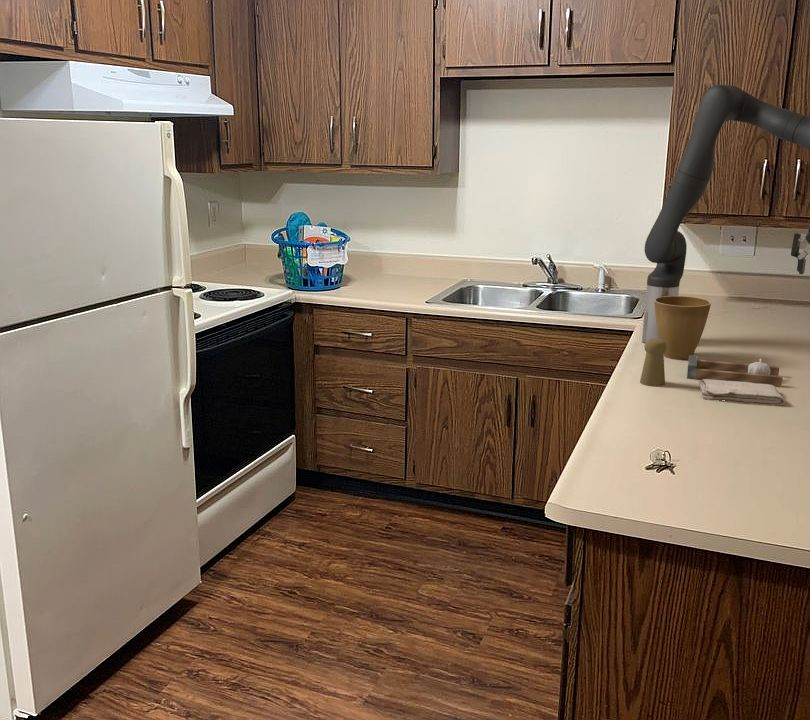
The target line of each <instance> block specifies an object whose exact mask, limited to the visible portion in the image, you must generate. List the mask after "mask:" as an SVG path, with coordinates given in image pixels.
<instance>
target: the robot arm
mask: <svg viewBox="0 0 810 720" xmlns="http://www.w3.org/2000/svg"><path fill="white" fill-rule="evenodd" d="M728 121H732V122H739V123H746V124H749V125H753V126H755V127H757V128H760V129H761V130H763V131H765V132H766V133H768V134H770V135H772V136H773V137H776V138H778V139H780V140H783V141H786V142H788V143H791V144H793V145H797V146H801V147H803V148H804V149H806V150H809V151H810V116H808V115H804V114H802V113H798V112H796V111H793V110H791V109H790V110H789V109H785V108H783V107H780V106H777V105H773V104H771V103H768V102H766V101H763V100H761V99H759V98H757V97H756V96H754V95H752V94H750V93H748V92H747V91H745V90H743V89H741V88H740V87H738V86H736V85H732V84H716V85H713V86H711V87H709V88H708V89H707V90H706V91H705V92H704V94H703V95H702V98H701V99H700V102H699V106H698V111H697V114H696V117H695V120H694V124H693V127H692V130H691V134H690V136H689V140H688V141H687V144H686V145H685V146H686V147H685V149H684V151H683V154H682V157H681V159H680V161H679V164H678V166H677V168H676V171H675V173H674V177H673V178H672V182H671V185H670V186H669V187H670V188H669V190H668V192H667V195H666V196H665V199H664V202H663V204H662V207H661V209H660V212H659V214H658V216H657V218H656V219H655V222H654V223H653V225H652V227H651V229H650V231H649V233H648V235H647V237H646V240H645V243H644V255H645V257H646V258H647V260H648V261H649V262H651V263H652V264H653V263H654V264H656V266H655V268H654V269H653V271H651V272H650V273H648V276H647V278H646V279H647V280H646V288H645V289H646V290H645V292H646V293H645V305H644V312H643V320H642V321H643V322H642V333H641V343H644V344H645V343H646V341H647V340H650V339H659V335H658V330H657V324H656V316H655V305H654V299H655V298H658V297H664V296H680V295H679V292H680V283H681V279H682V277H683V275H684V271H685V265H686V264H685V263H686V259H687V258H686V257H687V241H686V238H685V236H684V234H683V233H682V232H680V231H679V228H680V227H681V226H680V225H681V224H682V222H683V221H684V219H685V217H686V216H687V215H688V214H689V213H690V211H692V209H693V208H694V207H695V206H696V205H697V203H698V202H699V201H700V199H701V198H702V197H703V195H704V193H705V191H706V189H707V186H708V184H709V182H710V181H711V178H712V174H713V171H714V162H715V161H714V160H715V146H716V142H717V138H718V136H719V134H720V132H721V129H722V127H723V125H724V123H725V122H728ZM808 225H809V226H808V231H807V233H802V232H801V231H800V232H795V233H794V234H793V239H792V246H791V251H790V256H791V257H794V258H797V267H796V270H797V271H796V272H798V274H799V275H804V274H805V270H806V261H807V259H806V258H807V257H808V255H809V254H810V221H808ZM804 239H805V240H806V242H807V243H808V245H807V246H806V247H805V248H803V251H802V252H800V248H801V247H800V246H801V244H802V243H801V242H803V241H804ZM659 340H660V339H659Z"/></svg>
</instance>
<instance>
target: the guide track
mask: <svg viewBox="0 0 810 720" xmlns="http://www.w3.org/2000/svg"><path fill="white" fill-rule="evenodd" d="M687 361H688V362H687V372H686V373H687V375H686V379H689V380H699V381H702V379H709V380H711V379H712V380H721V381H722V380H724V381H740V382H749V383H750V382H751V383H756V384H758V383H759V384H770V385H773V386H775V387H776V388H777V387H778V388H782V385H783V376H782V375H779V373H780V366H778V365H777V366H776V365H769V367H770V375H765V374H754V373H748V366H749V365H750V364H751V363H741V362H732V361H729V362H728V361H716V360H709V359H708V360H705V359H698V355H694V354H693V355H689V359H687Z"/></svg>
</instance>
